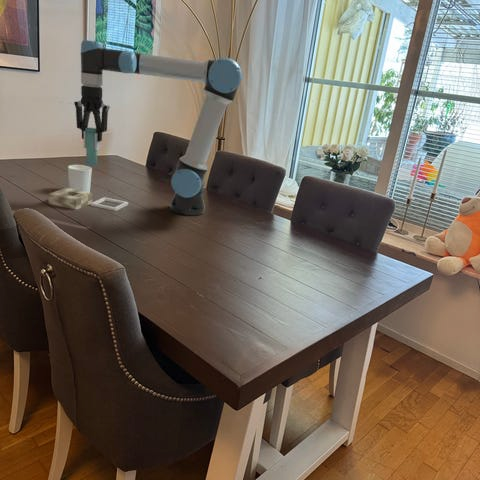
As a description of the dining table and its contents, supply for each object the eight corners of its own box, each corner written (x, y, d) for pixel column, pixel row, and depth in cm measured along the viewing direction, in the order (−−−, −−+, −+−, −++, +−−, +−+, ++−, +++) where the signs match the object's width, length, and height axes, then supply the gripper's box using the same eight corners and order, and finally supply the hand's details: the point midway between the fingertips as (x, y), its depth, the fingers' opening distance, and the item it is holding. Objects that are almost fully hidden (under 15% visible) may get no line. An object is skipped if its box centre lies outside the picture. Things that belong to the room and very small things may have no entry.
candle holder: (76, 198, 190) (76, 170, 185) (62, 192, 195) (63, 165, 191) (95, 195, 197) (96, 169, 193) (82, 190, 202) (83, 164, 198)
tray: (127, 206, 189) (128, 202, 188) (115, 213, 179) (115, 208, 178) (104, 201, 191) (104, 197, 190) (90, 207, 181) (90, 203, 180)
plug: (100, 164, 178) (100, 128, 173) (94, 166, 174) (94, 129, 169) (89, 162, 179) (89, 127, 174) (82, 164, 174) (82, 128, 170)
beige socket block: (92, 204, 185) (92, 193, 183) (76, 212, 174) (76, 199, 172) (66, 199, 187) (66, 187, 185) (48, 206, 176) (48, 193, 174)
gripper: (117, 88, 168) (116, 150, 176) (76, 83, 171) (77, 144, 179) (108, 88, 161) (107, 153, 169) (65, 82, 164) (66, 146, 172)
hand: (91, 148), depth 174 cm, fingers closed on plug, 4 cm apart
